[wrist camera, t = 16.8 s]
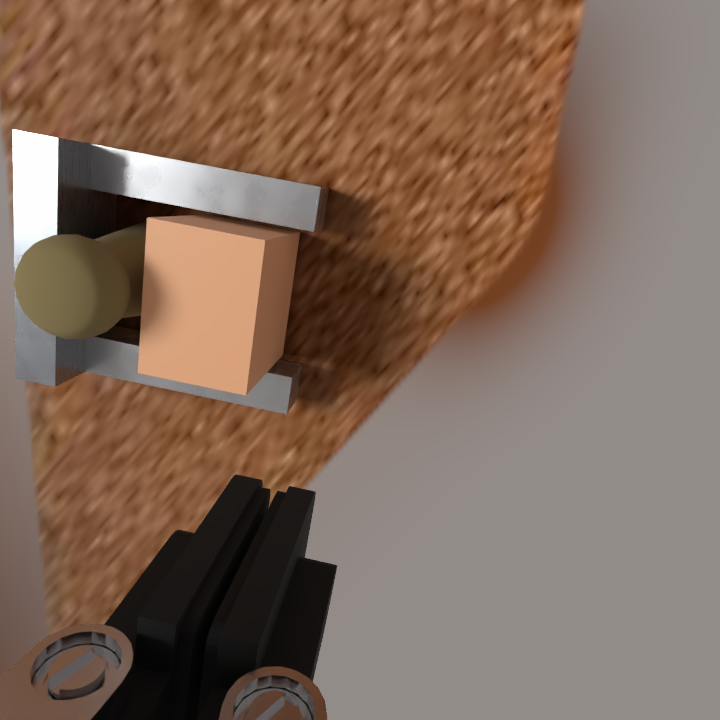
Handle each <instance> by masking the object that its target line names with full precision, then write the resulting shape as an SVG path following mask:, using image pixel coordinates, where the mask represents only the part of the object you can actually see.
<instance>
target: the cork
mask: <svg viewBox="0 0 720 720" xmlns="http://www.w3.org/2000/svg"><path fill="white" fill-rule="evenodd" d="M146 226H147V221H144V222H142V223H139V224H136V225H133V226H130V227H128V228H125V229H122V230H119V231H116V232H114V233H111V234H108V235H105V236H102V237H100V238H97V239H94V240H93V239H90V238H87V237H84V236H81V235H78V234H65V235H53V236H50V237H48V238H45V239H43V240H40V241H38V242H36V243H34V244H33V245H32V246H31V247H30V248H29V249H28V250H27V251H26V252H25V253H24V254H23V256H22V258H21V260H20V262H19V264H18V266H17V269H16V271H15V280H14V287H15V292H16V297H17V300H18V302H19V304H20V306H21V308H22V310H23V312H24V313H25V314H26V315H27V317H28V318H29V319H30V320H31V321H32V322H33V323H34V324H35V325H37V326H38V327H40V328H41V329H43V330H44V331H46V332H47V333H49V334H51V335H54V336H58V337H61V338H64V339H88V338H91V337H94V336H97V335H100V334H102V333H104V332H107V331H108V330H109V329H110V328H112V327H113V326H114V325H115V324H116V323H118V321H119V320H120V319H121V318H126V317H134V316H141V310H142V293H143V276H144V259H145V243H146Z"/></svg>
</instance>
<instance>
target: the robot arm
mask: <svg viewBox="0 0 720 720" xmlns="http://www.w3.org/2000/svg"><path fill="white" fill-rule="evenodd" d="M262 486H263V484H262V480H259V479H255V478H250V477H246V476H241V475H234V477H233V478H232V479H231V481H230V482H229V484H228V485H227V487H226V488H225V490H224V491H223V492H222V494H221V495H220V497H219V498H218V500H217V501H216V503H215V504H214V506H213V507H212V508H211V510H210V511H209V513H208V514H207V516H206V517H205V519H204V520H203V522H202V523H201V525H200V526H199V527H198V529H197V530H196V532H195V533H191V532H187V531H182V530H177V531H175V532H174V533H173V534H172V535H171V537H170V538H169V539H168V541H167V542H166V543H165V545H164V546H163V547H162V549H161V550H160V551H159V553H158V554H157V555H156V557H155V558H154V559H153V561H152V562H151V563H150V565H149V566H148V567H147V569H146V570H145V571H144V573H143V574H142V575H141V577H140V578H139V579H138V581H137V582H136V583H135V585H134V586H133V587H132V589H131V590H130V591H129V593H128V594H127V595H126V597H125V598H124V599H123V600H122V602H121V603H120V604H119V606H118V607H117V608H116V610H115V611H114V612H113V614H112V615H111V616H110V618H109V619H108V620H107V622H106V623H105V624H104V625H102V624H80V625H76V626H72V627H68V628H64V629H62V630H60V631H58V632H55V633H53V634H51V635H49V636H47V637H46V638H45V639H43V640H42V641H41V642H39V643H38V644H36V645H35V646H34V647H33V648H32V649H31V650H29V651H28V653H26V654H25V655H24V656H23V657H22V658H21V659H20V660H18V661H17V662H16V663H15V664H14V665H13V666H12V667H11V668H10V669H8V670H7V671H6V672H5V673H4V674H3V675H2V676H1V677H0V720H327V713H326V706H325V700H324V698H323V696H322V694H321V693H320V691H319V689H318V687H317V686H316V685H315V684H314V683H313V678H314V673H315V669H316V664H317V660H318V656H319V651H320V647H321V642H322V638H323V633H324V628H325V624H326V619H327V614H328V609H329V605H330V599H331V594H332V590H333V584H334V579H335V574H336V569H337V565H333V564H329V563H325V562H320V561H316V560H311V559H307V558H305V552H306V547H307V541H308V535H309V530H310V524H311V518H312V513H313V507H314V501H315V494H316V493H315V492H314V491H310V490H305V489H301V488H296V487H292V486H289V488H288V489H287V492H286V493H285V492H281V491H277V493H276V495H275V497H274V499H273V501H272V503H271V505H270V507H269V500H270V489H267V488H262ZM268 507H269V509H268Z"/></svg>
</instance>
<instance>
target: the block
mask: <svg viewBox="0 0 720 720" xmlns="http://www.w3.org/2000/svg"><path fill="white" fill-rule="evenodd" d="M299 237H300V232H297V231H292V230H286V229H281V228H276V227H271V226H266V225H260V224H255V223H250V222H245V221H239V220H234V219H229V218H224V217H219V216H213V215H187V216H166V217H147V226H146V243H145V259H144V276H143V293H142V310H141V327H140V343H139V360H138V373H140V374H145V375H150V376H155V377H160V378H164V379H169V380H174V381H179V382H183V383H188V384H193V385H198V386H202V387H207V388H212V389H217V390H222V391H226V392H231V393H236V394H241V395H245V396H246V395H247V394H248V393H249V392H250V391H251V390H252V388H253V387H254V386H255V385H256V384H257V383H258V382H259V381H260V380H261V379H262V377H263V376H264V375H265V374H266V373H267V372H268V371H269V370H270V369H271V368H272V366H273V365H274V364H275V363H276V362H277V361H278V360H279V359H280V358H281V357H282V355H283V350H284V343H285V336H286V329H287V322H288V315H289V308H290V301H291V294H292V287H293V280H294V273H295V265H296V258H297V251H298V244H299Z"/></svg>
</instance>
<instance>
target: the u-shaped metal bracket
mask: <svg viewBox="0 0 720 720" xmlns="http://www.w3.org/2000/svg"><path fill="white" fill-rule="evenodd" d="M13 194H14V279H15V271H16V269H17V266H18V264H19V262H20V260H21V258H22V256H23V254H24V253H25V252H26V251H27V250H28V249H29V248H30V247H31V246H32V245H33V244H34V243H36V242H38V241H40V240H43V239H45V238H48V237H50V236H53V235H65V234H78V235H81V236H84V237H87V238H90V239H93V240H94V239H97V238H100V237H102V236H105V235H108V234H111V233H114V232H116V219H117V196H118V194H119V195H124V196H129V197H134V198H139V199H145V200H150V201H155V202H160V203H166V204H171V205H176V206H181V207H186V208H192V209H197V210H202V211H207V212H212V213H218V214H223V215H228V216H233V217H238V218H244V219H249V220H254V221H259V222H264V223H270V224H275V225H280V226H285V227H291V228H296V229H301V230H306V231H311V232H316V231H320V230H323V226H324V220H325V214H326V207H327V201H328V194H329V188H324V187H318V186H313V185H308V184H302V183H297V182H292V181H286V180H281V179H276V178H270V177H265V176H260V175H254V174H249V173H244V172H238V171H233V170H228V169H222V168H217V167H212V166H206V165H201V164H196V163H190V162H185V161H180V160H174V159H169V158H164V157H158V156H153V155H148V154H142V153H137V152H132V151H126V150H121V149H116V148H110V147H105V146H100V145H94V144H89V143H84V142H78V141H73V140H67V139H62V138H56V137H51V136H46V135H40V134H35V133H29V132H24V131H18V130H13ZM139 343H140V331H139V330H134V329H129V328H124V327H119V326H115V325H114V326H113V327H112V328H110V329H109V330H108V331H107V332H104V333H102V334H100V335H97V336H94V337H91V338H88V339H64V338H61V337H58V336H54V335H51V334H49V333H47V332H46V331H44V330H43V329H41V328H40V327H38V326H37V325H35V324H34V323H33V322H32V321H31V320H30V319H29V318H28V317H27V315H26V314H25V313H24V312H23V310H22V308H21V306H20V304H19V302H18V300H17V297H16V292H15V365H16V366H15V369H16V378H17V379H22V380H26V381H31V382H36V383H40V384H45V385H50V386H57V385H59V384H61V383H63V382H65V381H67V380H69V379H71V378H73V377H75V376H77V375H79V374H81V373H83V372H89V373H94V374H98V375H103V376H108V377H113V378H117V379H122V380H127V381H132V382H136V383H141V384H146V385H151V386H155V387H160V388H165V389H170V390H174V391H179V392H184V393H189V394H193V395H198V396H203V397H208V398H212V399H217V400H222V401H227V402H231V403H236V404H241V405H246V406H250V407H255V408H260V409H265V410H269V411H274V412H279V413H284V414H287V413H288V411H289V410H290V408H291V407H292V405H293V404H294V402H295V400H296V399H297V395H298V388H299V382H300V375H301V369H302V364H300V363H295V362H290V361H285V360H280V359H279V360H278V361H277V362H276V363H275V364H274V365H273V366H272V368H271V369H270V370H269V371H268V372H267V373H266V374H265V375H264V376H263V377H262V379H261V380H260V381H259V382H258V383H257V384H256V385H255V386H254V387H253V388H252V390H251V391H250V392H249V393H248V394H247V395H246V396H245V395H241V394H236V393H231V392H226V391H222V390H217V389H212V388H207V387H202V386H198V385H193V384H188V383H183V382H179V381H174V380H169V379H164V378H160V377H155V376H150V375H145V374H140V373H138V360H139Z"/></svg>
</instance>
